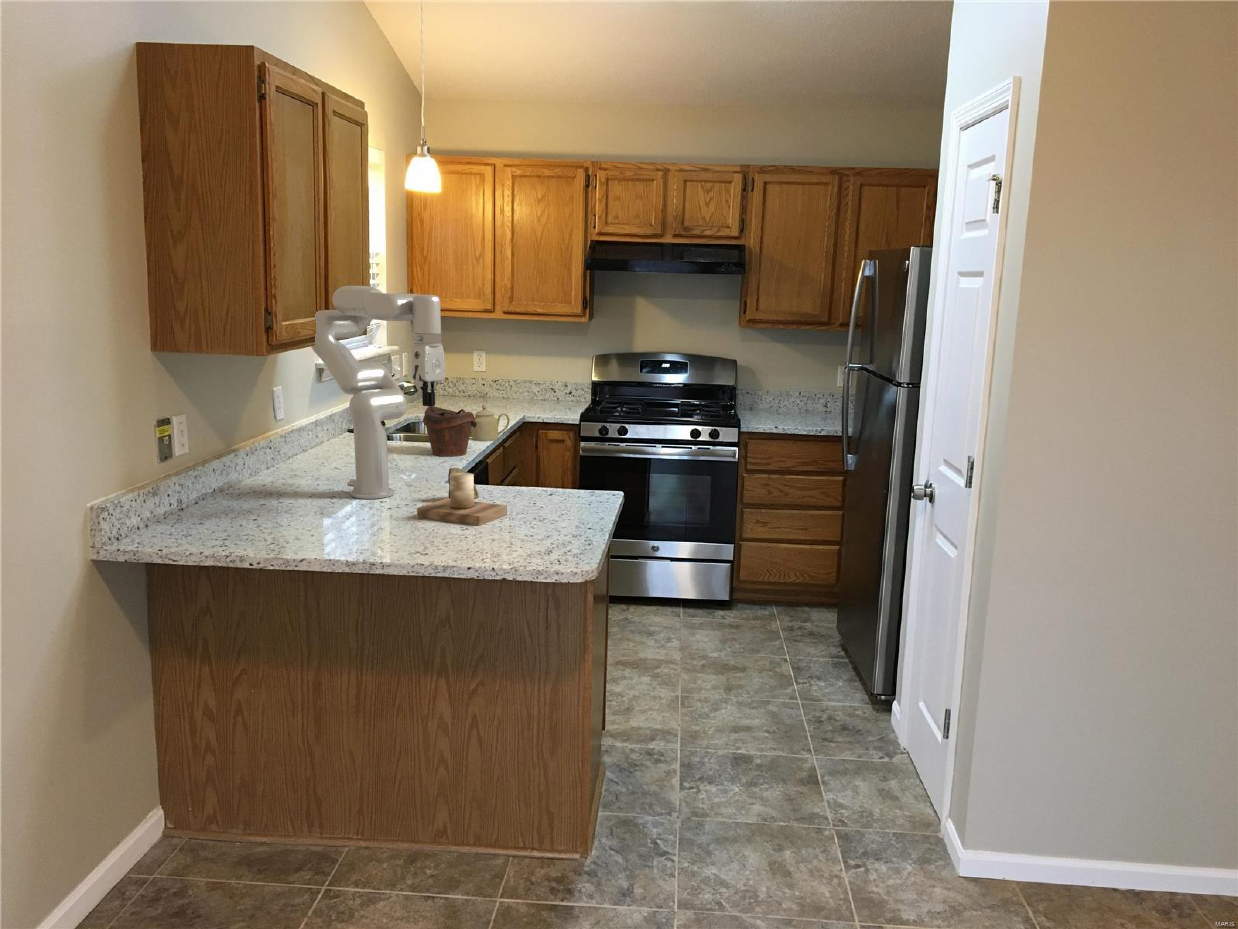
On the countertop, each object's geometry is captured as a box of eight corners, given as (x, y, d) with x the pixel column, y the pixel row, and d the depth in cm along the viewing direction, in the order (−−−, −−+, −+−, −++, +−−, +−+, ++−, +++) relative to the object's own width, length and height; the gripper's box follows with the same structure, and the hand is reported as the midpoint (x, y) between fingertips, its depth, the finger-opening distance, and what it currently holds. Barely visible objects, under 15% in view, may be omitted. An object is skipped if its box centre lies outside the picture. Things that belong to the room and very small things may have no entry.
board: (417, 517, 255) (417, 508, 254) (447, 507, 267) (446, 498, 267) (479, 525, 247) (479, 516, 246) (507, 514, 259) (507, 505, 259)
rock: (476, 487, 284) (444, 484, 281) (483, 468, 279) (449, 465, 275) (479, 514, 277) (446, 512, 274) (486, 495, 271) (452, 492, 268)
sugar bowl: (497, 435, 401) (497, 401, 398) (511, 439, 392) (510, 403, 390) (466, 438, 392) (466, 403, 390) (479, 442, 384) (479, 405, 381)
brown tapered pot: (479, 456, 349) (478, 408, 346) (425, 459, 344) (423, 410, 341) (474, 449, 366) (473, 404, 363) (422, 451, 361) (420, 405, 358)
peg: (446, 517, 256) (445, 475, 253) (459, 512, 261) (458, 472, 259) (465, 519, 253) (464, 478, 251) (478, 514, 259) (478, 474, 257)
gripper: (422, 341, 250) (423, 409, 254) (454, 339, 264) (455, 404, 267) (399, 340, 254) (401, 407, 257) (432, 338, 267) (433, 402, 270)
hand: (428, 405), depth 262 cm, fingers closed
